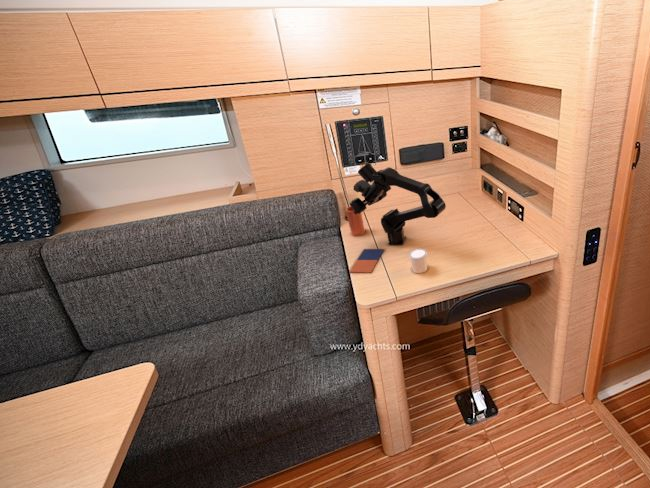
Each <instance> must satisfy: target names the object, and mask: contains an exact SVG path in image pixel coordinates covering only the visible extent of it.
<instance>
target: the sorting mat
mask: <svg viewBox="0 0 650 488" xmlns="http://www.w3.org/2000/svg"><path fill="white" fill-rule="evenodd" d="M384 251H385V249H384V248H364V249H363V250H362V251H361V253H360V255H359V257H358V258H357V259H356V261H355V262H354V263H353V265H352V267H351V269H350V270H349V274H351V273H352V274H355V273H357V274H372V272H373V270H374V268H376V265H377V263H378V262H379V260H380V258H381V256H382V254H383V253H384Z"/></svg>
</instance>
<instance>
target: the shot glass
mask: <svg viewBox="0 0 650 488" xmlns="http://www.w3.org/2000/svg"><path fill="white" fill-rule="evenodd" d="M408 257H409V261H410V265H411V269H412V271H413V272H414V273H416V274H422V273H425V272H426V271H427V270H428V252H427V250H426V249H424V248H416V249H413V250H411V251H410V252H409V253H408Z"/></svg>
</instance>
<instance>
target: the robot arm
mask: <svg viewBox="0 0 650 488" xmlns="http://www.w3.org/2000/svg"><path fill="white" fill-rule="evenodd" d="M357 173H358V175H359V176H360V177H361V178H362V179H360V180H359V181H357V182H356V183H355V184H354V185H353V191H354V192H356V193H361V194H360V195H361V197H363V198H364V199H363V200H361V198H359V197H356V198H354V199H352V200H351V201H350V202H349V206H351V207H352V208H353V209H354V213H355V214H360V213H361V214H362V213H363V212H365V211H366V209H367V206H368V207H369V206H372V205H374V204H376V203H379V202H380V201H382V200H383V199H385V198H386V197H387V196H388V193H387V192H390V191H391V190H392V186H395V187H398V188H401V189H403V190H405V191H408V192H411V193H414V194H416V195H418V196H419V199H420V203H421V205H420V206H417V207H413V208H410V209H406V210H402V211H400V210H399V209H398V208H394V209H390V210H389V211H387V212H386V213H385V214H383V215H382V217H381V218H380V224H381V227H382V229H383V231H384V233H385V234H386V235H387V240H388V245H389V246H402V245H404V242H405V240H406V239H407V237H406V235H405V231H404V227H405V226H406V222H409V221H411V220H415V219H419V218H420V219H421V218H423V217H424V218H426V219H435V218H437V217H439V215H440V214H441V213H443V212H444V211H445V210H446V207H447V205H446V201H444V200H443V198H442V197H441V195H440V193H438V192H437V191H436V190H434V189H433V188H432V187H431V185H430V184H429V183H426V182H425V183H424V182H421V181H419V180H416V179H413V178H410V177H408V176H405V175H402V174H400V173H399V172H398V171H397V170H396V169H394V168H392V167H390V166H388V167H386V168H384V169H380V170H378V171H377V170H376V169H375V168H374V167H373V166H372V164H371V163H370V162H367V163H365V164H364V165H363V166H362V167H361V168H360V169H358V171H357ZM429 197H430V198H432V200H430V201H429Z"/></svg>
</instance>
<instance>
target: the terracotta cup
mask: <svg viewBox="0 0 650 488" xmlns="http://www.w3.org/2000/svg"><path fill="white" fill-rule="evenodd" d="M345 213H346V216H347V217H346V218H347V222H348V225H349V231H350V234H351V236H354V237H359V236H362V235H363V234H365V232H366V229H365V224H364V220H363V214H362V213H360V214H355V213H354V209H353V208H352V207H351V205H349V206H348V207H346V208H345Z"/></svg>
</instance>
